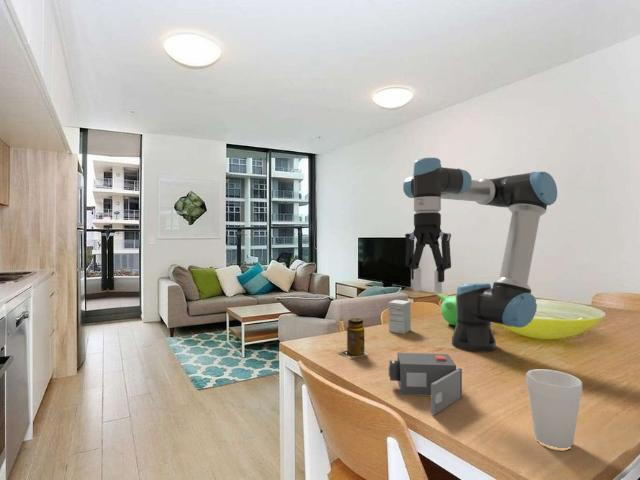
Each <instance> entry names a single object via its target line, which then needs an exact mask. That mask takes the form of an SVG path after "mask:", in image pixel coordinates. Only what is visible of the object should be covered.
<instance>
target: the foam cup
mask: <svg viewBox="0 0 640 480" xmlns="http://www.w3.org/2000/svg"><path fill="white" fill-rule="evenodd" d="M525 374H526V375H525V377H526V378H525V384H526V388H527V391H528V398H529V405H530V407H529V408H530V413H531V420H532V428H533V435H534V438H535V437H536V439H537V440H539V441H540V442H542V443H544V444H546V445H549V446H553V447H557V448H568V447H571V446H572V447H573V444H574V439H575V435H576V434H575V433H576V426H577V421H578V414H579V410H580V404H581V403H580V402H581V397H582V396H583V382H582V381H581V380H580V378H579V377H576V376H574V375H572V374H570V373H567V372H563V371H560V370H554V369H547V368H546V369H545V368H543V369H542V368H541V369H540V368H536V369H529V370H528V371H527V372H526V373H525ZM536 439H535V440H536Z"/></svg>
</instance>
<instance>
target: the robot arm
mask: <svg viewBox="0 0 640 480" xmlns="http://www.w3.org/2000/svg"><path fill="white" fill-rule="evenodd" d="M441 162H442V161H441V160H440V159H439V158H438V157H423V158H419V159H417V160H415V161H414V164H413V173H412V176H409V177H407V178H406V179H404V182H403V185H402V186H403V188H402V189H403V193H404V195H405V196H406V197H407V198H409V199H413V212H415V213H414V214H413V226H414V230H413V231H412V232H411V233H405V235H404V237H405V241H406V242H405V244H406V245H405V266H406V267H408V268H410V277H411V280H413V292H415V293H417V292H421V291H422V283H421V281H422V278H421V277H422V269H421V268H420V262H421V259H422V256H423V255H422V254H423V252H424V249H425V248H426V245H427V246H429V248H430V249H431V252H432V253H431V254H432V257H433V260H434V264H435V266H436V268H435V270H434V280H433V281H434V295H436V294H443V292H442V291H443V288H442V284H443V283H444V282H445V271H446V270H449V269H451V268H452V260H451V258H452V255H451V238H452V233H449V232H448V233H447V232H444V231H443V230H442V229H441V223H442V214H441V213H440V212H441V210H442V204H441V203H442V201H441V200H443V199H444V200H451V201H452V200H453V201H454V200H455V201H457V200H458V201H465V202H467V201H468V202H475V203H477V204H478V205H482V206H483V205H484V206H491V207H499V208H508V210H509V211H510V212H511V217H510V223H509V228H508V233H507V238H506V244H505V247H504V253H503V257H502V258H503V259H502V263H501V264H502V265H501V269H500V273H499V278H498V279H496V280H495V281H493V284H492V285H491V283H488V282H479V283H464V284H460V285H458V286H457V288H456V294H455V295H456V302H457V325H456V326H454V327H455V328H454V331H453V333H452V337H451V344H452V346H453V347H455V348H458V349H460V350H464V351H468V352H469V351H470V352H478V353H479V352H481V353H483V352H484V353H485V352H492V351H495V350H496V349H497V341H496V337H495V334H494V332H493V329H492V324H491V323H493V324H498V325H503V326H506V327H509V328H510V327H511V328H512V327H513V328H516V329H517V328H524V327H526V326H528V325H529V324H530V323H531V322H532V321H533V320H534V318H535V316H536V313H537V307H538V305H537V299H536V297H535V296H534V295H533V294H532V288H531V287H530V286H529V284H528V283H529V276H530V271H531V266H532V262H533V261H532V260H533V254H534V251H535V245H536V239H537V233H538V230H539V229H538V228H539V223H540V217H541V216H543V215H545V214H546V212H547V207H548V206H551V205H553V204H555V202H556V201H557V199H558V188H557V184H556V182H555V179H554V178H553V176H552V175H551V174H550V173H549V172H547V171H532V172H528V173H521V174H515V175H507V176H501V177H497V178H481V179H479V180H476V179H475V180H474V179H472V175H471V174H470V172H468V170H466V169H461V168H451V167H442V164H441ZM415 239H416V241H415ZM439 239H440V240H441V242H440V243H441V249H440V243H439Z"/></svg>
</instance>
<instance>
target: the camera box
mask: <svg viewBox="0 0 640 480" xmlns="http://www.w3.org/2000/svg"><path fill="white" fill-rule="evenodd" d="M396 354H397V355H396V356H397V360H389V364H388V377H389V380H390V382H391V381H392V382H394V381H395V382H397V383H398V387H399V392H400V395H409V396H411V395H413V396H431V383H433V382H435V381H437V380H439V379H441V378H442V377H444V376H446V375H448V374H450V373H451V372H453V371H455V370H457V364H456V363H455V361H454V360H453V359H452V357H451V356H450V355H449V354H448V353H420V352H419V353H415V352H412V353H411V352H397V353H396Z"/></svg>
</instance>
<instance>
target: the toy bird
mask: <svg viewBox="0 0 640 480" xmlns="http://www.w3.org/2000/svg"><path fill="white" fill-rule="evenodd" d="M435 295H436V296H437V298H440V299H441V301H442V302H441V305H440V313H441V315H442V318H443V319H444V320H445V321H446V323H448V324H450V325H452V326H454V327H456V325H457V302H456V295H457V294H451V295H446V294H443V293H440V294H435Z"/></svg>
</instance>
